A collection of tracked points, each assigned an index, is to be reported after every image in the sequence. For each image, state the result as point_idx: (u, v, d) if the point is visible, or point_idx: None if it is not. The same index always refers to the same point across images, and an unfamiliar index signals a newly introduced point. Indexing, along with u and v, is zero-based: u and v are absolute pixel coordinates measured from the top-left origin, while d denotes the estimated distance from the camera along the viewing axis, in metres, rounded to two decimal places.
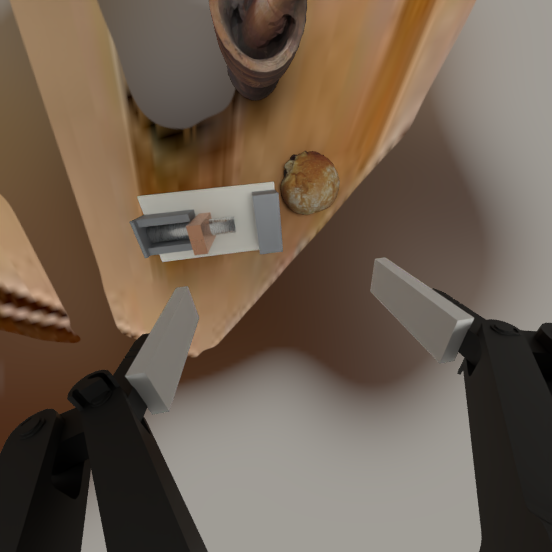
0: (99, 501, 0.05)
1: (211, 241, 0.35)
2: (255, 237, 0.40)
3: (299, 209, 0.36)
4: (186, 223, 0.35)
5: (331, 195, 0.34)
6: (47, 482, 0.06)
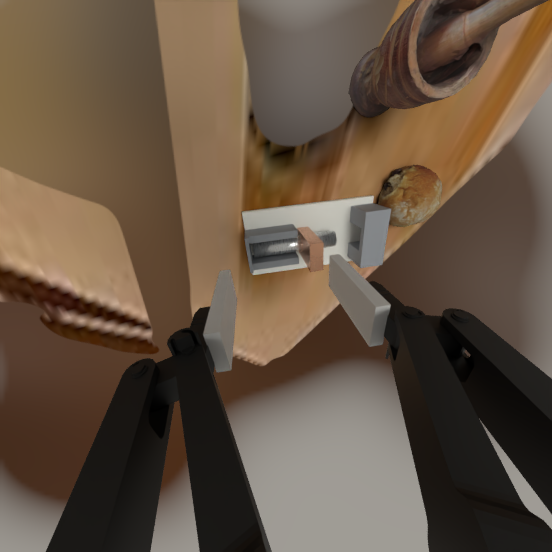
0: (184, 430, 0.06)
1: None
2: (345, 249, 0.40)
3: (400, 222, 0.36)
4: (289, 238, 0.35)
5: (436, 208, 0.34)
6: (146, 419, 0.07)
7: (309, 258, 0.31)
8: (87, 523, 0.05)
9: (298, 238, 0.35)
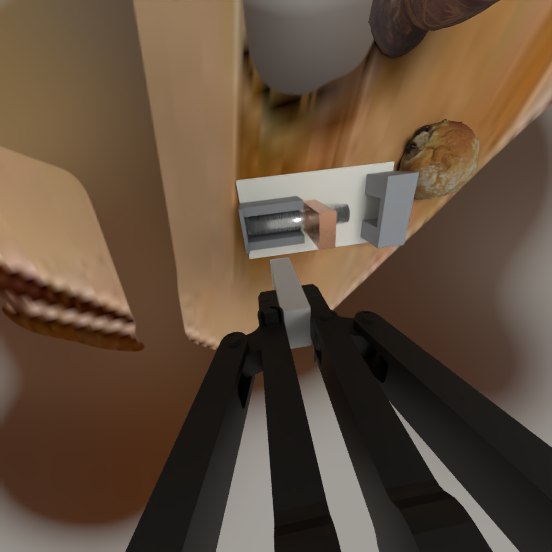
0: (265, 392, 0.07)
1: None
2: (358, 228, 0.34)
3: (426, 192, 0.30)
4: (293, 212, 0.29)
5: (471, 174, 0.28)
6: (236, 388, 0.08)
7: (318, 232, 0.25)
8: (191, 462, 0.06)
9: (304, 212, 0.29)
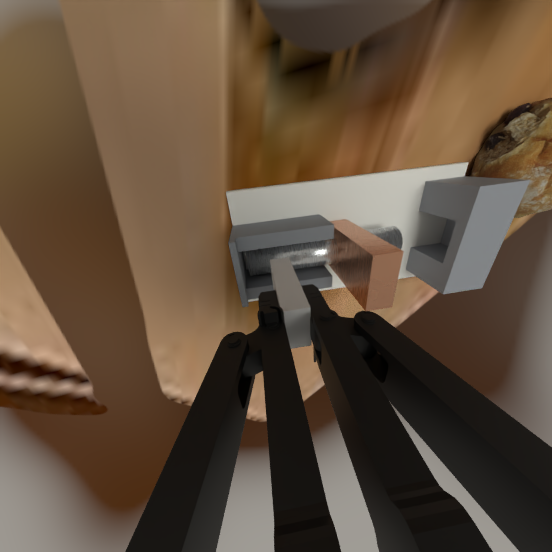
0: (265, 392, 0.07)
1: None
2: (404, 258, 0.24)
3: (519, 209, 0.19)
4: (315, 241, 0.19)
5: None
6: (236, 388, 0.08)
7: (365, 284, 0.14)
8: (190, 462, 0.06)
9: (332, 240, 0.19)
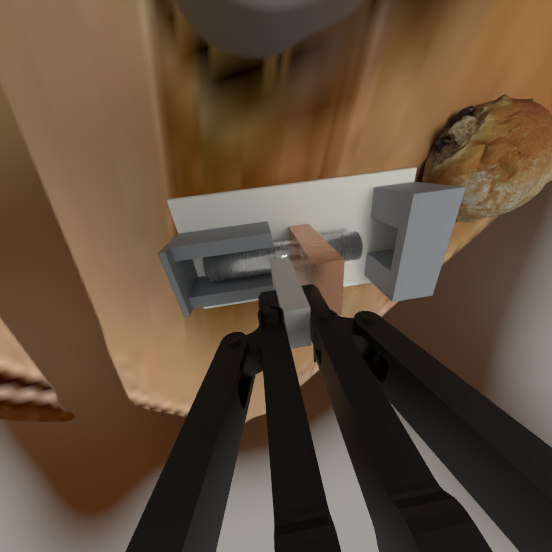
0: (266, 392, 0.07)
1: None
2: (361, 264, 0.24)
3: (467, 214, 0.19)
4: (274, 246, 0.19)
5: None
6: (236, 388, 0.08)
7: None
8: (191, 462, 0.06)
9: (290, 246, 0.19)
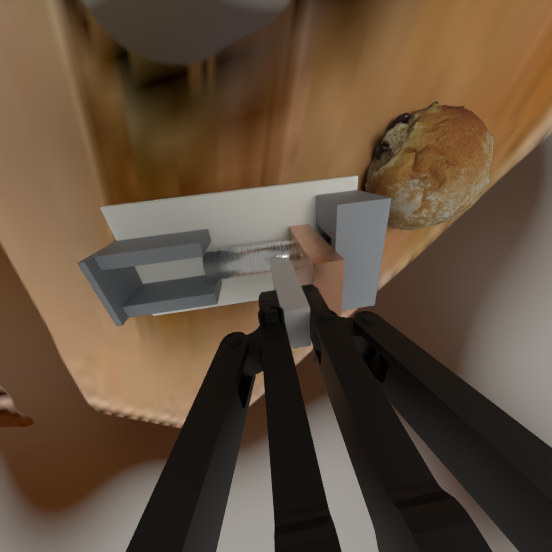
0: (266, 392, 0.07)
1: None
2: None
3: (407, 222, 0.18)
4: (274, 246, 0.19)
5: (480, 194, 0.17)
6: (237, 388, 0.08)
7: None
8: (191, 461, 0.06)
9: (290, 246, 0.19)
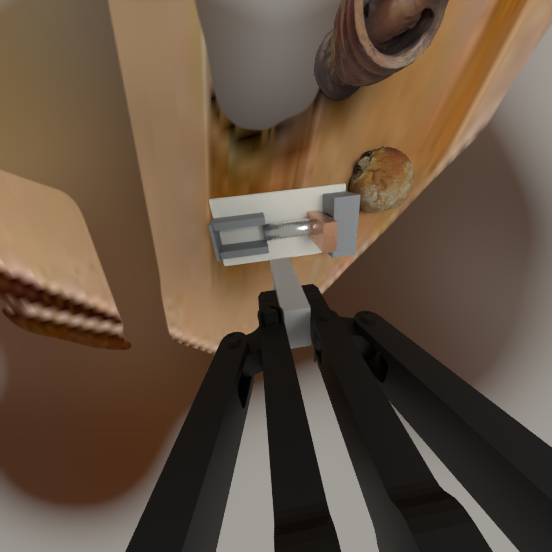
0: (265, 392, 0.07)
1: None
2: None
3: (371, 207, 0.34)
4: (300, 221, 0.34)
5: (407, 192, 0.33)
6: (236, 388, 0.08)
7: (322, 238, 0.30)
8: (191, 462, 0.06)
9: (309, 221, 0.34)
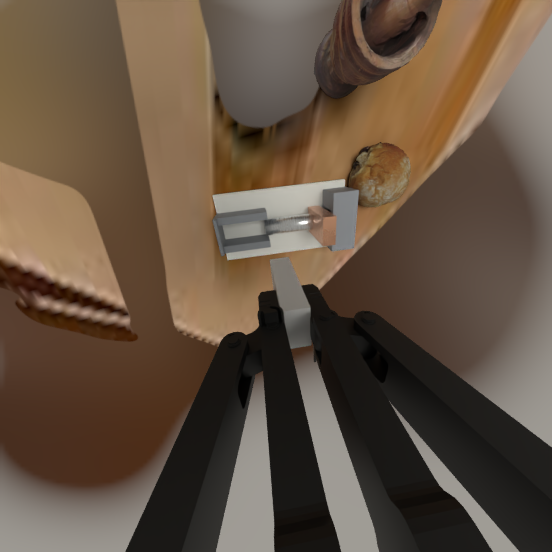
0: (265, 392, 0.07)
1: None
2: None
3: (369, 201, 0.35)
4: (301, 216, 0.36)
5: (404, 187, 0.34)
6: (236, 388, 0.08)
7: (322, 232, 0.31)
8: (191, 461, 0.06)
9: (309, 216, 0.36)
